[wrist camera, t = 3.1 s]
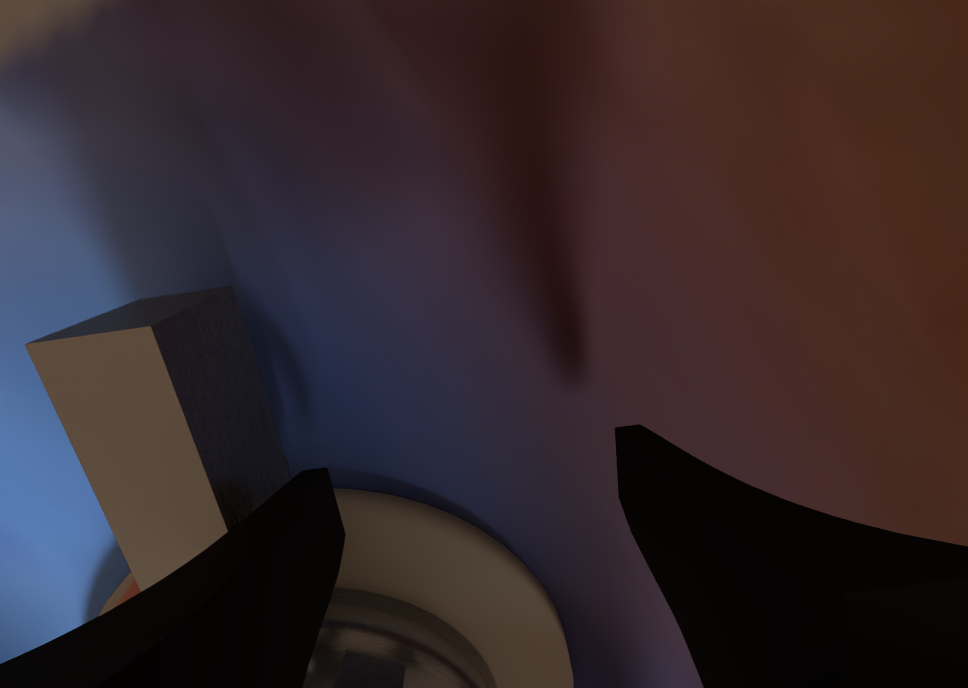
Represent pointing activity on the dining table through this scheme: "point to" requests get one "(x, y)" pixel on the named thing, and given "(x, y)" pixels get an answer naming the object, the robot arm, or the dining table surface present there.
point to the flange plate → (447, 584)
